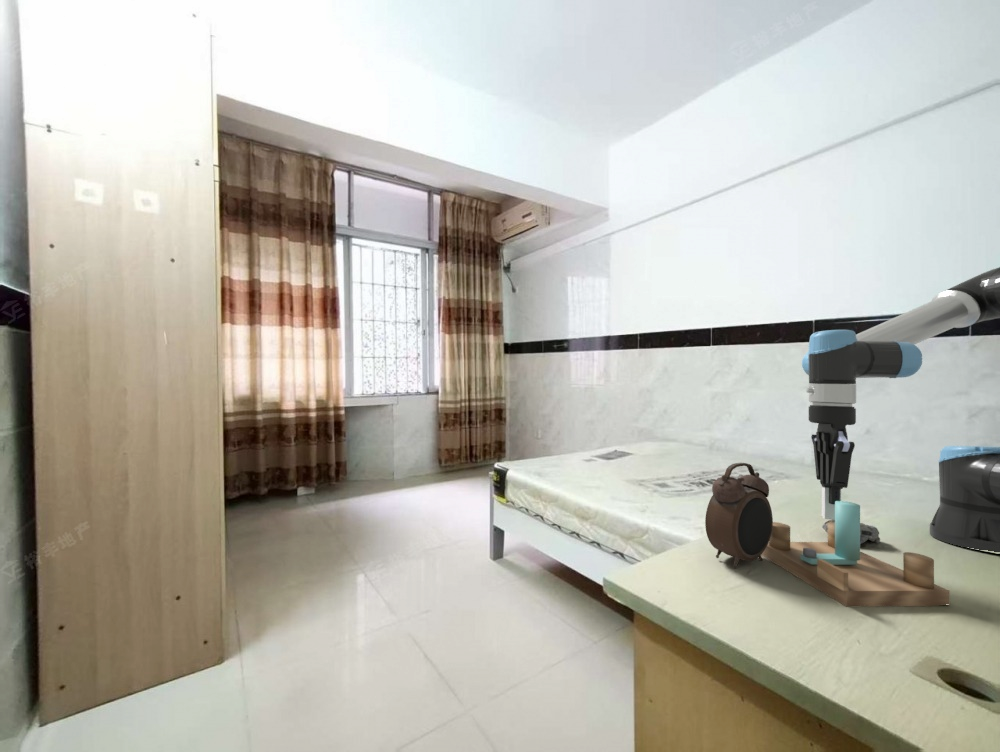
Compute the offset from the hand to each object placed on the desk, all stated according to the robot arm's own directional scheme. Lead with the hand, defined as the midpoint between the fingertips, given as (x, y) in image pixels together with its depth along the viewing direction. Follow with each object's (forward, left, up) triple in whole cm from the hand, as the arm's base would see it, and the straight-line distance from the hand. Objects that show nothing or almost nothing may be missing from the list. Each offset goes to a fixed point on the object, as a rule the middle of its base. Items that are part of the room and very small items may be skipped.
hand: (831, 518), depth 81 cm
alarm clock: (+19, 0, -9) cm, 21 cm away
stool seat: (+3, +6, -9) cm, 11 cm away
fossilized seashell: (-16, -11, -9) cm, 21 cm away
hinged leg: (+6, +6, -6) cm, 10 cm away
